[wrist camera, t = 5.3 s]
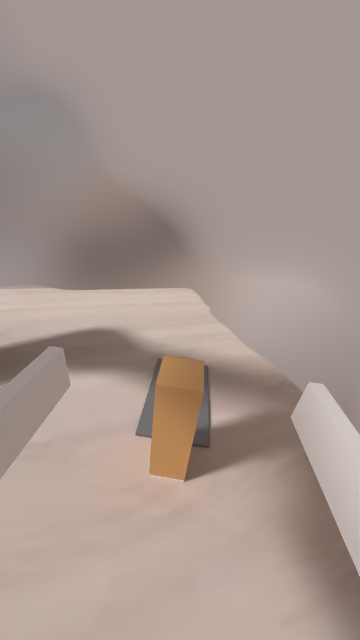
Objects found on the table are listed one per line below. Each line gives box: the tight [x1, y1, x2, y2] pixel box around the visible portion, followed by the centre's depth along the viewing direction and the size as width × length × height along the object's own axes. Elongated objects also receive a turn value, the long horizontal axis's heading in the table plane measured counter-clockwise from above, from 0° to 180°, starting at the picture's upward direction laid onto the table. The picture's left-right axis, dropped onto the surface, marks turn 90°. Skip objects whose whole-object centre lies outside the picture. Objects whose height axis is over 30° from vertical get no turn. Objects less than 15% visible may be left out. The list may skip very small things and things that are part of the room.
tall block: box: [149, 355, 204, 482], centre depth 25 cm, size 4×4×16 cm
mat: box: [136, 358, 209, 447], centre depth 39 cm, size 18×11×1 cm, turn 174°
